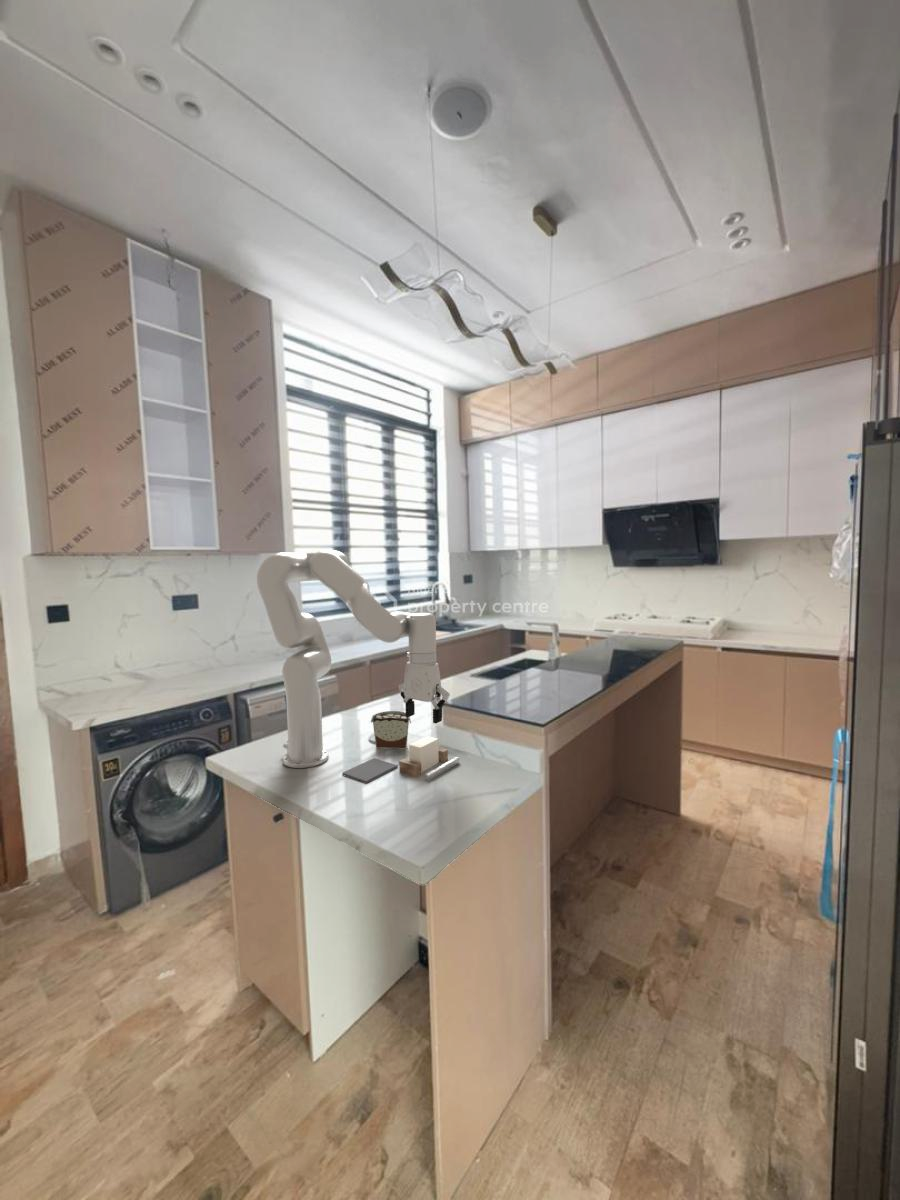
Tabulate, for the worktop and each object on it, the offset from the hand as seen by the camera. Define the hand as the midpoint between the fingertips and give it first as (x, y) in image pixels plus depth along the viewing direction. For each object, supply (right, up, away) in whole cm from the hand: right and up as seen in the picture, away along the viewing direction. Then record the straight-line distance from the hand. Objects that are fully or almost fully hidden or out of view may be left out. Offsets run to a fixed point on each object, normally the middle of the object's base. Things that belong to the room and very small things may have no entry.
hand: (423, 719), depth 136 cm
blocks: (+2, -13, 0) cm, 13 cm away
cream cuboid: (0, -13, +1) cm, 13 cm away
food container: (-10, -12, +17) cm, 24 cm away
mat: (-14, -14, -2) cm, 20 cm away
